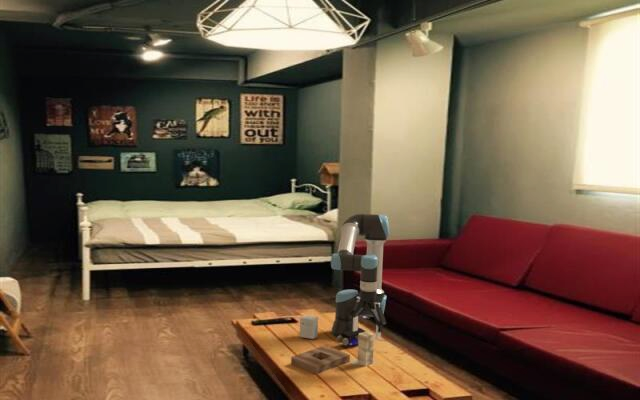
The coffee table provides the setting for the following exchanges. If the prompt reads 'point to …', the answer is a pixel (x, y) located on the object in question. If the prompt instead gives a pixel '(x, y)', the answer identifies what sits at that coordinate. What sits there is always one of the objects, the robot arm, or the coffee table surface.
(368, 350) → the beech block
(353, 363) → the pad
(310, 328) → the small box
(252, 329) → the coffee table surface
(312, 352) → the pocket board
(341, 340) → the toy car
